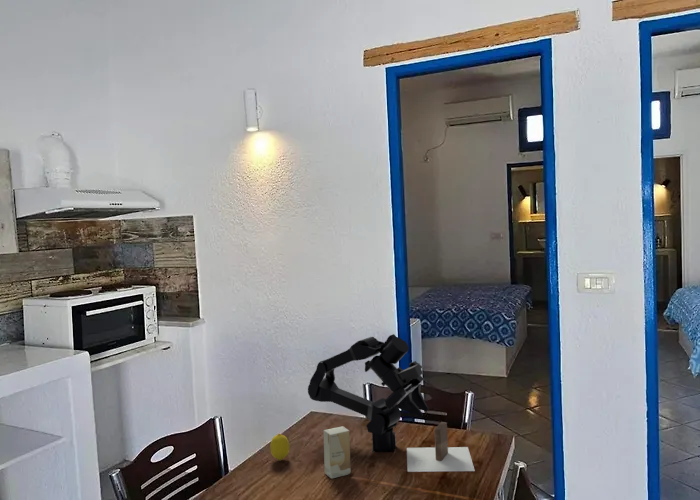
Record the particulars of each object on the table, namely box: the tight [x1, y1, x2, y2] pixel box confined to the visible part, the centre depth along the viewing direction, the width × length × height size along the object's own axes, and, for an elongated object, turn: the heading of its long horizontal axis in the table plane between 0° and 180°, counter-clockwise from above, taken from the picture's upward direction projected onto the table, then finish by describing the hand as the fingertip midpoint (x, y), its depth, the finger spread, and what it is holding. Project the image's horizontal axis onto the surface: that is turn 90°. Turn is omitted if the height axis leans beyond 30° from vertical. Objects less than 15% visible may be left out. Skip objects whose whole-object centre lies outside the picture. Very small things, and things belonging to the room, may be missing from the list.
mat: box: [406, 446, 476, 473], centre depth 162 cm, size 18×16×1 cm
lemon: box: [270, 433, 290, 462], centre depth 167 cm, size 6×6×8 cm
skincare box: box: [323, 425, 352, 479], centre depth 156 cm, size 6×4×12 cm
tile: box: [434, 421, 449, 461], centre depth 163 cm, size 2×6×9 cm, turn 153°
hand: (424, 413), depth 165 cm, fingers open, 5 cm apart
